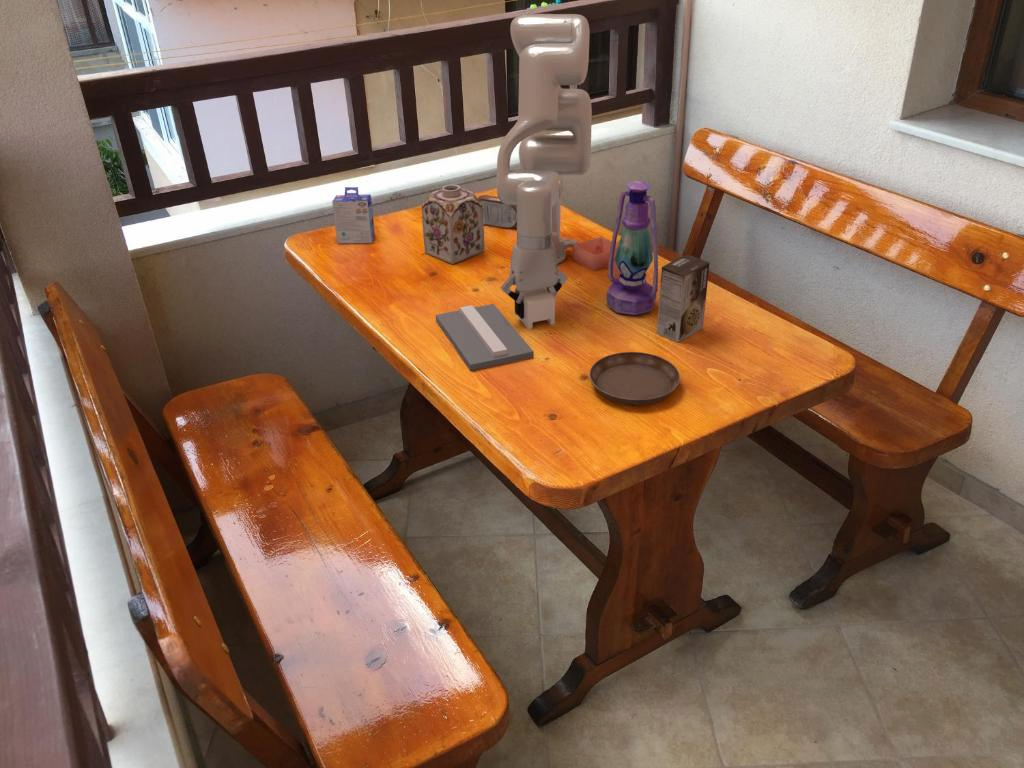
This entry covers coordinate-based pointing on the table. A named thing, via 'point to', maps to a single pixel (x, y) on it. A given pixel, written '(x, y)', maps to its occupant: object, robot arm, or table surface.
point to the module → (538, 307)
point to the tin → (498, 212)
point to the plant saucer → (634, 378)
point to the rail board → (483, 336)
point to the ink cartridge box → (353, 217)
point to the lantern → (634, 253)
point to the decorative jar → (453, 224)
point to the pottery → (595, 254)
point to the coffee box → (682, 297)
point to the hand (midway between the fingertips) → (534, 312)
